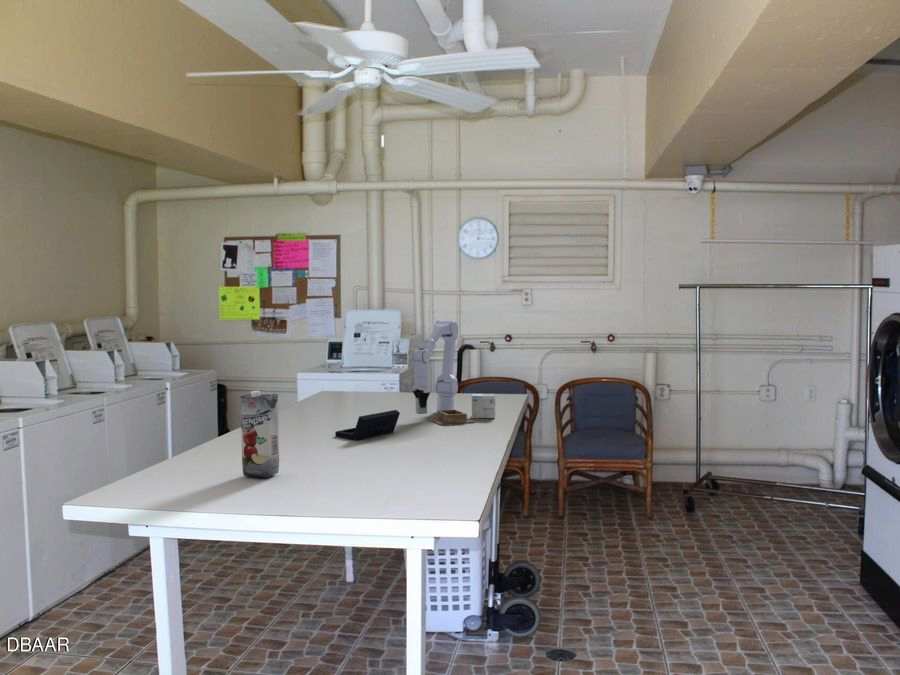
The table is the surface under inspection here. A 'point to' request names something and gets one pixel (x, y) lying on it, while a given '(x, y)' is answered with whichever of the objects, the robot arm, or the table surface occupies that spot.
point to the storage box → (371, 426)
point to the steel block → (418, 408)
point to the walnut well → (451, 417)
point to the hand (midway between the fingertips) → (421, 406)
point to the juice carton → (259, 434)
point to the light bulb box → (483, 406)
